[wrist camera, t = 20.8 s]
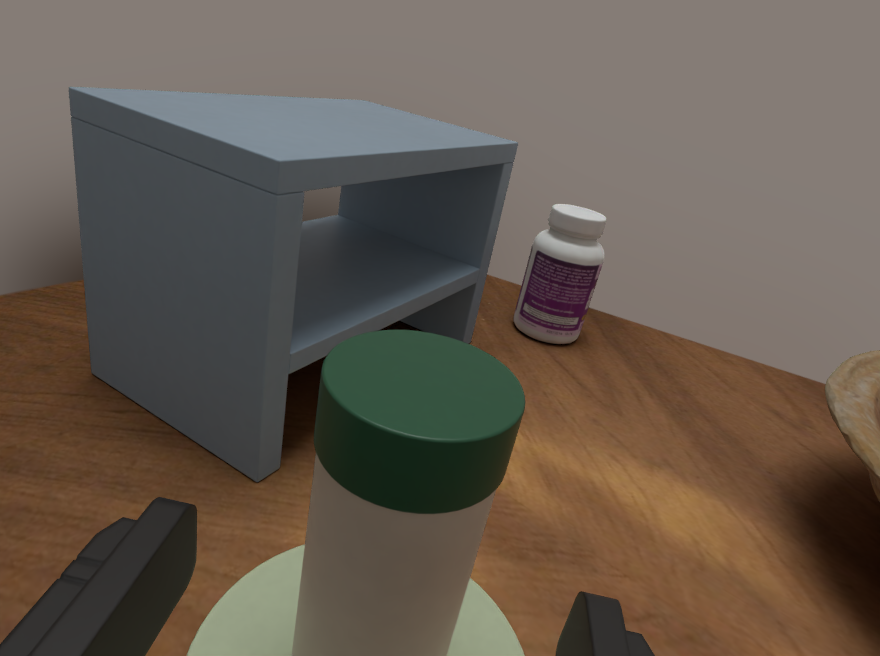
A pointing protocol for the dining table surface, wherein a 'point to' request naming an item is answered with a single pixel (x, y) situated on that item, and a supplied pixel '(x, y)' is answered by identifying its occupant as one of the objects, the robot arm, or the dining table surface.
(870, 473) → the bowl
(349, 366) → the spice bottle
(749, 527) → the dining table surface
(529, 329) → the pill bottle
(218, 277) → the shelf
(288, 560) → the mat
